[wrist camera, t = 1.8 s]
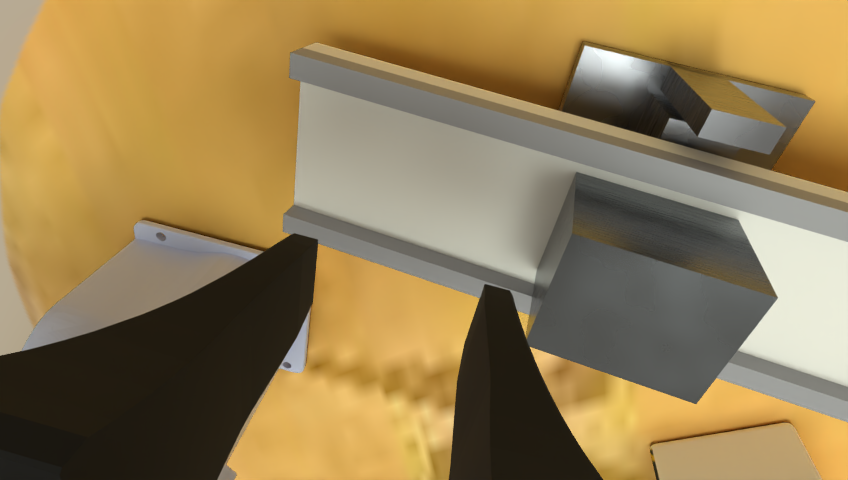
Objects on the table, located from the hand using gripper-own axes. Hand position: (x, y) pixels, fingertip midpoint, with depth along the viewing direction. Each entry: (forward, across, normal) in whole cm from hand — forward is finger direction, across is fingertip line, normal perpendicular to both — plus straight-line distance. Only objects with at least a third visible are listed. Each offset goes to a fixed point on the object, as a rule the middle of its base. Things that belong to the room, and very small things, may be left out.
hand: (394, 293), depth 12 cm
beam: (+8, -8, 0) cm, 12 cm away
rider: (+6, -7, 0) cm, 9 cm away
